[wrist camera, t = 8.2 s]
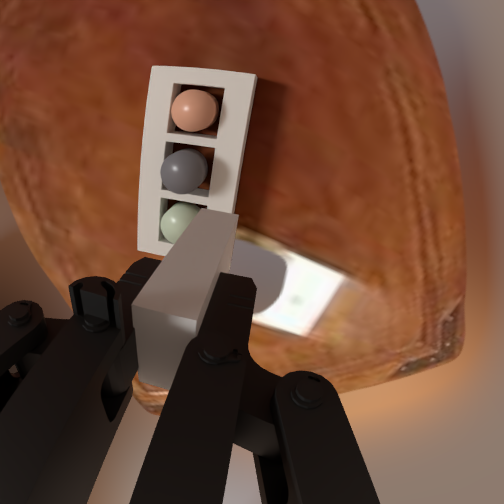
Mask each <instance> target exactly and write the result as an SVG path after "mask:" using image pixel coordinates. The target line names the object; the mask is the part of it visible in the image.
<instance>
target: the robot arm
mask: <svg viewBox="0 0 504 504" xmlns="http://www.w3.org/2000/svg"><path fill="white" fill-rule="evenodd" d="M238 216H239V215H237V214H232V213H227V212H221V211H216V210H210V209H205V208H201V210H200V211H199V212H198V213H197V215H196V216H195V217H194V219H193V220H192V221H191V223H190V224H189V225H188V227H187V228H186V229H185V231H184V232H183V233H182V234H181V236H180V237H179V239H178V240H177V241H176V243H175V244H174V245H173V247H172V248H171V249H170V251H169V252H168V253H167V255H166V256H165V258H164V259H163V260H162V261H161V260H156V259H152V258H147V257H144V258H142V259H140V260H138V261H136V262H134V263H133V264H132V265H131V266H130V267H129V269H128V270H127V271H126V273H125V274H123V276H122V277H121V278H120V280H119V281H118V282H117V283H115V282H114V281H113V280H110V279H108V278H105V277H98V276H93V277H85V278H82V279H79V280H76V281H74V282H73V283H72V284H70V285H69V292H70V297H71V303H72V308H73V313H74V315H73V316H72V317H71V318H70V319H52V318H44V314H43V310H42V308H41V307H40V306H39V304H37V303H35V302H32V301H26V300H22V301H17V302H14V303H12V304H10V305H8V306H6V307H5V308H3V309H2V310H0V504H87V501H88V499H89V496H90V494H91V491H92V489H93V486H94V484H95V481H96V479H97V476H98V474H99V471H100V469H101V467H102V464H103V461H104V459H105V457H106V455H107V452H108V449H109V447H110V445H111V443H112V440H113V438H114V436H115V433H116V431H117V429H118V426H119V424H120V422H121V420H122V417H123V415H124V413H125V411H126V408H127V406H128V404H129V402H130V399H131V397H132V393H133V387H132V380H133V378H134V376H135V374H136V372H137V370H138V376H139V381H140V382H143V383H147V384H150V385H154V386H157V387H161V388H164V389H168V390H169V393H168V396H167V398H166V401H165V404H164V407H163V409H162V412H161V415H160V417H159V420H158V423H157V426H156V428H155V431H154V434H153V438H152V440H151V443H150V445H149V448H148V451H147V454H146V456H145V460H144V462H143V465H142V468H141V471H140V474H139V477H138V480H137V482H136V486H135V488H134V491H133V494H132V497H131V500H130V503H129V504H222V503H223V497H224V491H225V485H226V480H227V474H228V469H229V463H230V457H231V451H232V446H233V443H234V444H236V445H238V446H241V447H242V448H244V449H247V450H249V451H251V452H253V457H254V462H255V468H256V474H257V479H258V485H259V490H260V496H261V502H262V504H380V502H379V499H378V497H377V494H376V491H375V488H374V486H373V483H372V480H371V478H370V475H369V473H368V470H367V467H366V465H365V462H364V459H363V457H362V454H361V452H360V449H359V446H358V444H357V441H356V439H355V436H354V434H353V431H352V428H351V426H350V423H349V421H348V418H347V416H346V414H345V411H344V408H343V406H342V403H341V401H340V398H339V396H338V393H337V391H336V390H335V388H334V387H333V385H332V384H331V383H330V382H329V381H328V380H327V379H325V378H324V377H323V376H321V375H318V374H316V373H313V372H309V371H295V372H290V373H288V374H286V375H285V376H283V377H280V376H278V375H275V374H273V373H271V372H269V371H267V370H265V369H263V368H262V367H260V366H259V365H258V364H257V363H256V362H255V361H254V360H253V358H252V357H251V356H250V353H249V350H248V341H249V335H250V329H251V323H252V316H253V309H254V303H255V297H256V291H257V288H256V286H255V284H254V282H253V280H252V278H248V277H243V276H237V275H233V274H229V271H230V265H231V258H232V253H233V246H234V241H235V234H236V228H237V222H238ZM14 364H15V366H16V368H17V370H18V372H16V373H14V374H13V373H10V372H9V370H8V369H10V368H11V367H12V366H13V365H14Z"/></svg>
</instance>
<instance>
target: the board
mask: <svg viewBox="0 0 504 504" xmlns="http://www.w3.org/2000/svg"><path fill="white" fill-rule="evenodd" d="M257 78H258V77H257V76H256V75H255V74H248V73H241V72H233V71H224V70H215V69H204V68H191V67H173V66H152V70H151V76H150V83H149V90H148V97H147V105H146V113H145V122H144V131H143V141H142V153H141V166H140V182H139V203H138V250H139V251H143V252H148V253H153V254H157V255H162V256H166V255H167V253H168V252H169V251H170V249H171V248H172V247H173V245H174V244H173V243H171V242H170V241H168V240H167V239H166V238H165V236H164V235H163V233H162V230H161V219H162V217H163V215H164V214H165V213H166V212H167V207H168V199H173V200H179V201H185V202H190V203H196V204H202V205H207V209H210V210H216V211H221V212H227V213H232V214H234V211H235V205H236V198H237V192H238V186H239V180H240V174H241V168H242V162H243V156H244V150H245V145H246V139H247V133H248V127H249V122H250V116H251V111H252V105H253V99H254V94H255V89H256V83H257ZM181 85H194V86H205V87H214V88H223V89H225V91H224V97H223V103H222V109H221V115H220V121H219V127H218V134H217V136H212V135H205V134H198V133H190V132H181V131H175V127H176V124H175V122H174V121H173V118H172V114H171V109H172V105H173V102H174V100H175V99H176V97H177V96H178V95H179V94H180V92H181ZM174 142H176V143H184V144H192V145H199V146H206V147H213V148H215V154H214V161H213V168H212V175H211V182H210V190H205V189H200V188H196V189H195V190H194V191H192V192H190V193H188V194H176V193H173V192H171V191H170V190H168V189H167V188H166V187H165V185H164V184H163V182H162V179H161V174H160V170H161V166H162V163H163V162H164V160H165V159H166V158H167V157H168V156H169V155H171V154H172V152H173V144H174Z"/></svg>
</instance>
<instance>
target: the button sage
mask: <svg viewBox="0 0 504 504" xmlns="http://www.w3.org/2000/svg"><path fill="white" fill-rule="evenodd" d="M199 211H200V208H199V207H198V206H197V205H195V204H194V203H190V202H185V201H180V202H178V203H176V204H174V205H173V206H172V207H171V208H170V209H169V210H168V211H167V212H166V213H165V214H164V215H163V217H162V219H161V230H162V233H163V235H164V236H165V238H166V239H167V240H168V241H170V242H171V243H173V244H175V243H176V241H177V240H178V239H179V237H180V236H181V234H182V233H183V232H184V231H185V229H186V228H187V227H188V225H189V224H190V223H191V221H192V220H193V219H194V217H195V216H196V215H197V213H198V212H199Z"/></svg>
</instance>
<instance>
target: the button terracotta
mask: <svg viewBox="0 0 504 504" xmlns="http://www.w3.org/2000/svg"><path fill="white" fill-rule="evenodd" d="M171 114H172V118H173V121H174V122H175V124H176V125H177V126H178V127H179V128H181V129H182V130H185V131H189V132H194V131H199V130H202V129H205V128H208V127H210V126H211V125H212V124H213V123H214V122H215V121H216V119H217V117H218V114H219V105H218V102H217V100H216V98H215V97H214V96H213V95H212V94H210V93H208V92H206V91H201V90H187V91H184V92H182V93H181V94H179V95H178V96H177V97H176V99H175V100H174V102H173V105H172V109H171Z"/></svg>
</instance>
